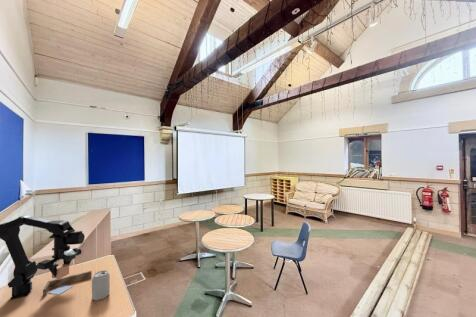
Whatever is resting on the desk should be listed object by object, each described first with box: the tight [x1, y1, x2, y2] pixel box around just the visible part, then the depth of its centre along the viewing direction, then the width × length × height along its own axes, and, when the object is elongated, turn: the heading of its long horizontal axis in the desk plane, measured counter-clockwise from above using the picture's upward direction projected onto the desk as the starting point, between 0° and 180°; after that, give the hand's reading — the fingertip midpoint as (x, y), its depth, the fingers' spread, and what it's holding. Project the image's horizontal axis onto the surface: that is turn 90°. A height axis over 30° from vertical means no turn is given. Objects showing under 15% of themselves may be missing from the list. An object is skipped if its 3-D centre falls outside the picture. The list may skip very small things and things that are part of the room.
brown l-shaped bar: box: [42, 270, 93, 297], centre depth 112 cm, size 20×9×4 cm, turn 122°
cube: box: [51, 263, 70, 279], centre depth 108 cm, size 5×5×5 cm
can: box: [91, 269, 111, 302], centre depth 102 cm, size 8×8×12 cm
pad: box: [48, 284, 73, 296], centre depth 108 cm, size 7×7×1 cm
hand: (60, 273), depth 108 cm, fingers closed on cube, 5 cm apart
